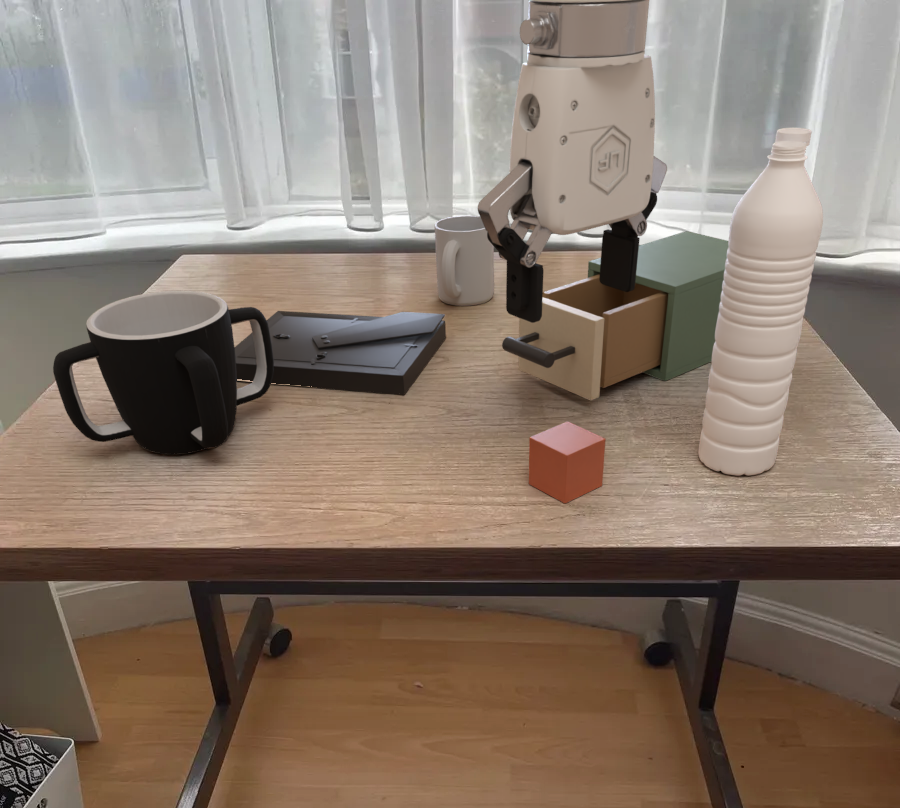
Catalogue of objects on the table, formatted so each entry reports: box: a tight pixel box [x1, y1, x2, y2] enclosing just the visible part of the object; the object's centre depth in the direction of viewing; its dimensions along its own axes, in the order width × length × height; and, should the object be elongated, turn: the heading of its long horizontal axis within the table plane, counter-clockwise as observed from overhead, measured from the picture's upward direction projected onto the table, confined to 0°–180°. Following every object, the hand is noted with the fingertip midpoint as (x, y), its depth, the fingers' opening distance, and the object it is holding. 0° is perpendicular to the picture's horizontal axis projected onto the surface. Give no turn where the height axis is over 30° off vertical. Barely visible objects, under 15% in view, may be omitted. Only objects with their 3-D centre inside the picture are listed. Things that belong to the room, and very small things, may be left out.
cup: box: [434, 215, 495, 307], centre depth 111 cm, size 7×10×9 cm
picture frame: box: [234, 310, 447, 396], centre depth 99 cm, size 16×3×21 cm
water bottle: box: [697, 127, 824, 476], centre depth 71 cm, size 9×6×25 cm
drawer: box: [501, 274, 669, 401], centre depth 90 cm, size 19×10×8 cm, turn 129°
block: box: [528, 420, 607, 504], centre depth 74 cm, size 4×4×4 cm
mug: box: [52, 290, 274, 455], centre depth 82 cm, size 16×16×12 cm
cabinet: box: [587, 230, 729, 382], centre depth 96 cm, size 16×12×10 cm
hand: (571, 301), depth 68 cm, fingers open, 9 cm apart
